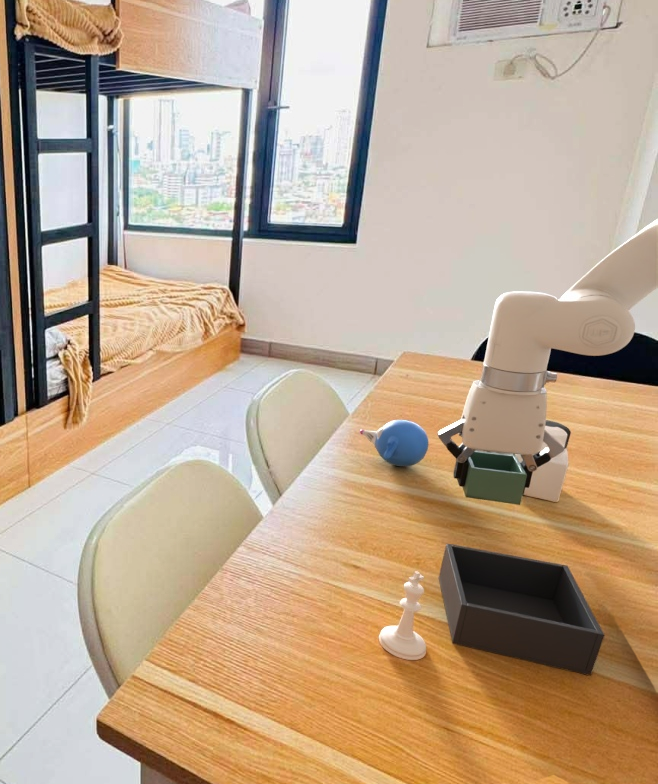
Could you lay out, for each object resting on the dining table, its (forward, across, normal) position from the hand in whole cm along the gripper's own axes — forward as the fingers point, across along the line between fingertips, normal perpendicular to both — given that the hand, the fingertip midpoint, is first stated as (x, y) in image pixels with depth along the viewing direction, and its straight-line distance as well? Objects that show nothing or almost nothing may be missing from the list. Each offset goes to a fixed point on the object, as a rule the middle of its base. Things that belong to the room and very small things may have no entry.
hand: (489, 485), depth 97 cm
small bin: (+1, 0, 0) cm, 1 cm away
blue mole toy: (+5, +13, -16) cm, 21 cm away
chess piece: (+5, +14, +36) cm, 39 cm away
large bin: (+5, +2, +27) cm, 27 cm away
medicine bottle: (+6, -9, -13) cm, 17 cm away
